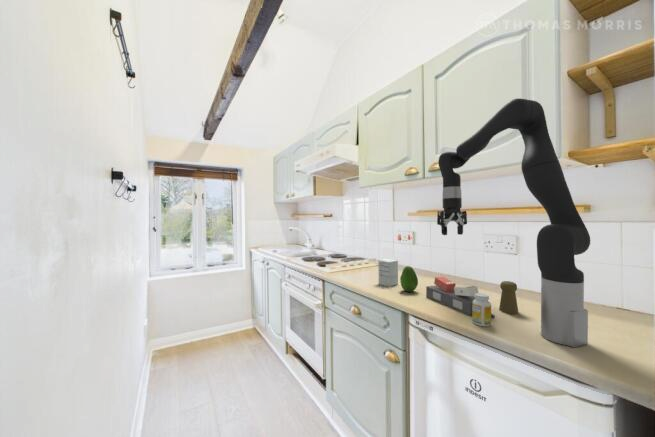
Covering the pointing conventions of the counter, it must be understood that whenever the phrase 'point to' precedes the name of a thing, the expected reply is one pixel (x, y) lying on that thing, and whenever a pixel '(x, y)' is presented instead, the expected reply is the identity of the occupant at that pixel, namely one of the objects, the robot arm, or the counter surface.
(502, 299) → the cork
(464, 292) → the rocker
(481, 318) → the supplement bottle
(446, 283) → the rocker
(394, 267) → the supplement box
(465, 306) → the power strip
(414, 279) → the avocado
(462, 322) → the counter surface
